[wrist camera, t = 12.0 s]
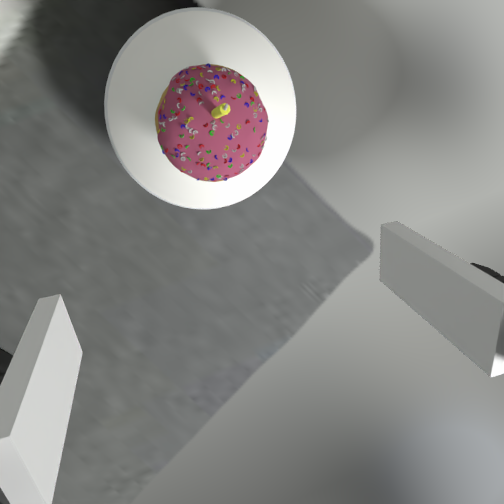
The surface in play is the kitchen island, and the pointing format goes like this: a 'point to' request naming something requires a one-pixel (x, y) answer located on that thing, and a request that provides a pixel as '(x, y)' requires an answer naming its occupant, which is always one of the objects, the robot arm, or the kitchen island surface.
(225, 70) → the cupcake
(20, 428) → the robot arm
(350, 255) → the kitchen island surface
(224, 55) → the cake stand
